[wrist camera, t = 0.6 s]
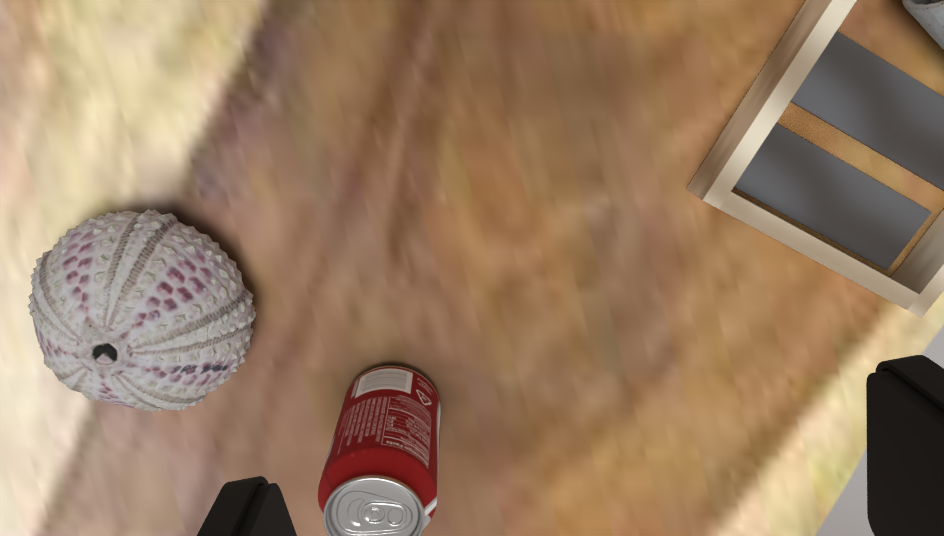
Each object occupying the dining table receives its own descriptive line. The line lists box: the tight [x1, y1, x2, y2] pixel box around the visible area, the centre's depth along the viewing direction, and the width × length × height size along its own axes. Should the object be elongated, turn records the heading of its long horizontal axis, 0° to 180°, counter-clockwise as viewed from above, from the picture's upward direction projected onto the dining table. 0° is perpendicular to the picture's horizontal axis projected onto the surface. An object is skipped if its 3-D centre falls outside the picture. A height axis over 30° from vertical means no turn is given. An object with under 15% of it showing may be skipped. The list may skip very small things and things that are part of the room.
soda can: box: [318, 366, 441, 536], centre depth 42 cm, size 7×7×12 cm
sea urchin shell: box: [28, 209, 256, 412], centre depth 41 cm, size 13×14×8 cm
